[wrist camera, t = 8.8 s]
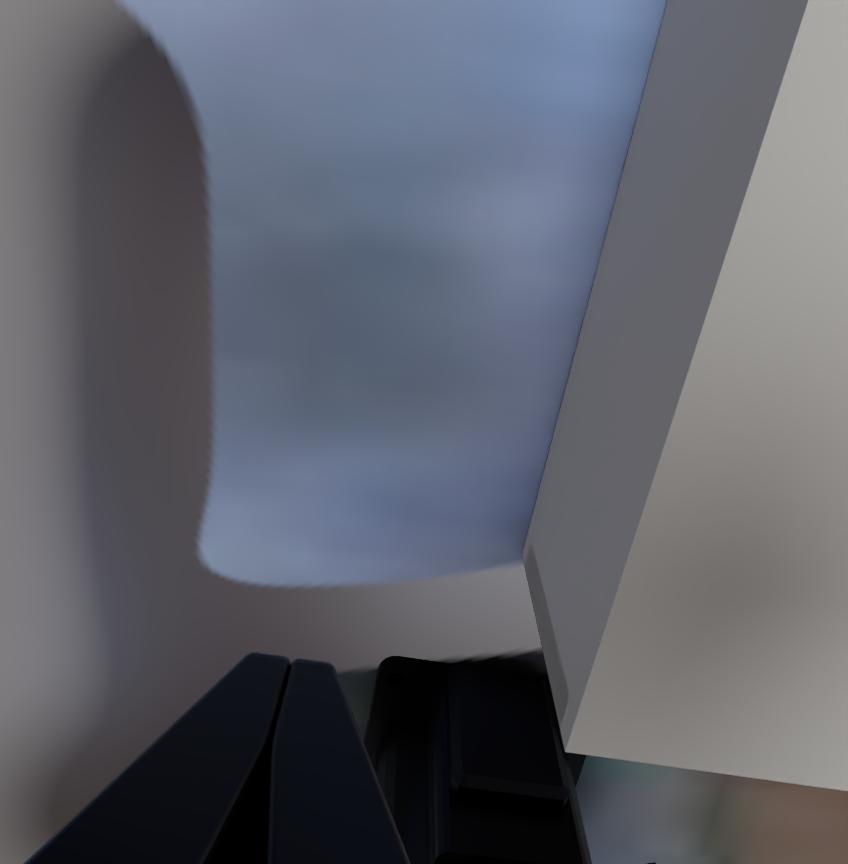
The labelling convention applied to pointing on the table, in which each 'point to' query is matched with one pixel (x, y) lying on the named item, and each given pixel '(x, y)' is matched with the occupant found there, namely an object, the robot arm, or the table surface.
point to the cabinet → (712, 417)
